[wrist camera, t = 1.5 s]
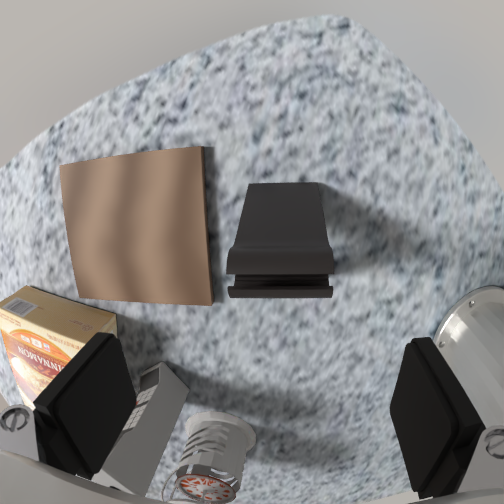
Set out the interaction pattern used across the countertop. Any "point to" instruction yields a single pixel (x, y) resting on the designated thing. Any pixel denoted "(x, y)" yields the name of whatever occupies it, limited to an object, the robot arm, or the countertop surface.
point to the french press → (212, 458)
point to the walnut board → (140, 227)
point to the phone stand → (281, 244)
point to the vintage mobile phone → (145, 432)
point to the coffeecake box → (46, 336)
